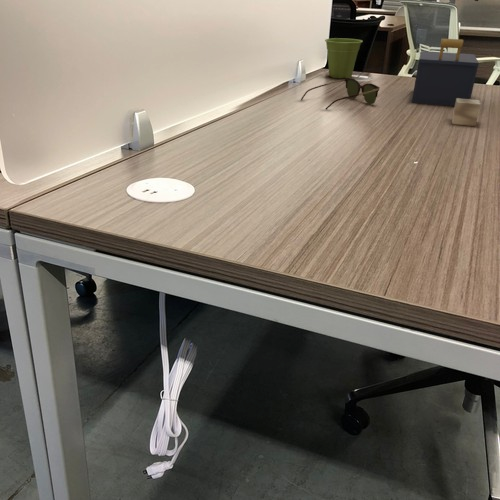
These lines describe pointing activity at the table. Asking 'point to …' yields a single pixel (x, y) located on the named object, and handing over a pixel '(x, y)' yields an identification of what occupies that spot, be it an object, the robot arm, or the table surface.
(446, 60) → the lid
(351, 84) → the sunglasses
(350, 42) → the plant pot
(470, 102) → the block
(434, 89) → the chest
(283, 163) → the table surface
